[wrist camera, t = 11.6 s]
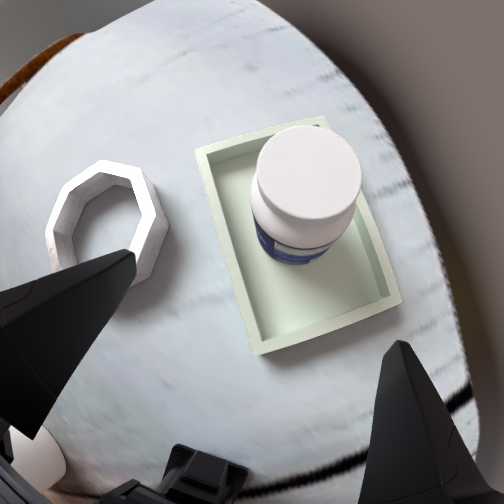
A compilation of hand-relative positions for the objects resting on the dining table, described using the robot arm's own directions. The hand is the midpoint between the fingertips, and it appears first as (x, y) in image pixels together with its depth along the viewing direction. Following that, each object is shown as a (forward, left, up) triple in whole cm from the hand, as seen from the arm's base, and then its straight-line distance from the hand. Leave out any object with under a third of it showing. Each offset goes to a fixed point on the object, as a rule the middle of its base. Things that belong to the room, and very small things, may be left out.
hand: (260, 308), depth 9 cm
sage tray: (+6, 0, -12) cm, 14 cm away
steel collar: (+1, +15, -12) cm, 20 cm away
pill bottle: (+6, 0, -12) cm, 14 cm away
